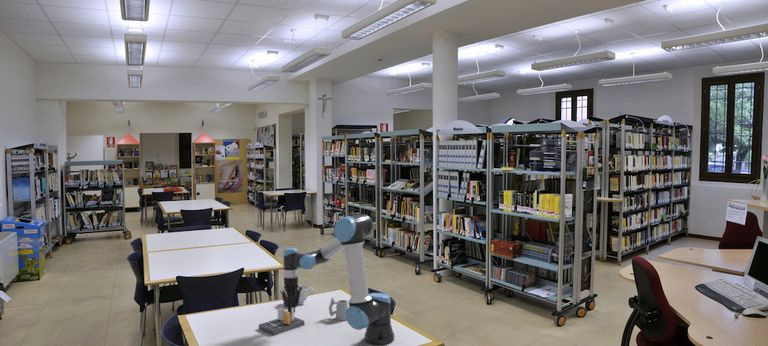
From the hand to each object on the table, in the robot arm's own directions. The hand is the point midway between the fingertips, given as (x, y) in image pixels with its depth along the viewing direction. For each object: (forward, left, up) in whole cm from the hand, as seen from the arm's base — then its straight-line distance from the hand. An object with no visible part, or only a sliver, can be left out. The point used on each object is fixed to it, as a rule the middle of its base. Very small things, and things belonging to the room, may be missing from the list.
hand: (291, 318), depth 257 cm
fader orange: (0, +3, -2) cm, 4 cm away
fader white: (+7, +2, -2) cm, 7 cm away
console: (+3, +4, -4) cm, 7 cm away
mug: (-10, -26, -5) cm, 28 cm away
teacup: (+28, -28, -5) cm, 40 cm away
